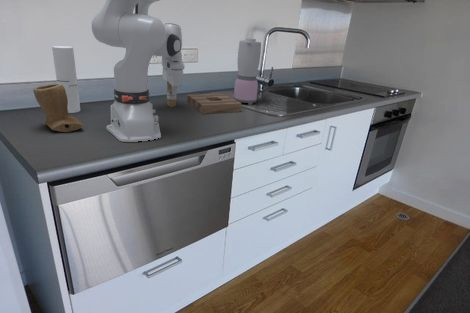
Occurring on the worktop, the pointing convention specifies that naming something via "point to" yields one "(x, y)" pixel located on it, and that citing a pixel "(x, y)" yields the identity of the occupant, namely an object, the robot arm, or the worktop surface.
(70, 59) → the cylindrical container
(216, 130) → the worktop surface
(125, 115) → the robot arm
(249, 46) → the blender
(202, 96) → the socket block
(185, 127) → the worktop surface
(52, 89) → the tan boot vase
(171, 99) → the sprinkles bottle
